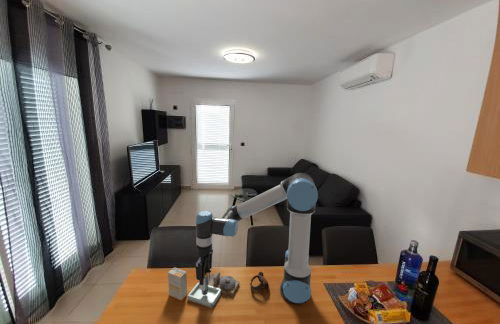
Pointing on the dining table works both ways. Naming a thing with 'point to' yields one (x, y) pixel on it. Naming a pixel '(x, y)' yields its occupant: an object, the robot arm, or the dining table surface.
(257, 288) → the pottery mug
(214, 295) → the tray
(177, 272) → the supplement box
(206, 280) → the lock pin
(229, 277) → the pulley block
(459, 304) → the dining table surface
